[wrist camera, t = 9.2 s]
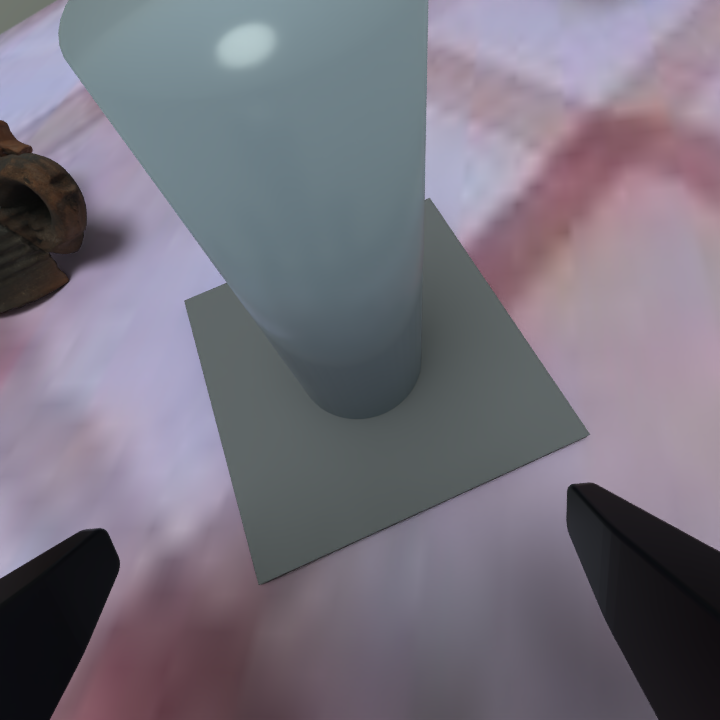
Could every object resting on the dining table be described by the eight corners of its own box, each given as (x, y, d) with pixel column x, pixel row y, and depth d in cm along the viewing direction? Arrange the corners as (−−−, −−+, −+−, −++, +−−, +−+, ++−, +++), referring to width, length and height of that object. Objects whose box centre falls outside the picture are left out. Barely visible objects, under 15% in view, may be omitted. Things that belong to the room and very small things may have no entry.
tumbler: (398, 436, 17) (343, 127, 4) (279, 396, 19) (-19, 75, 6) (436, 322, 19) (474, -119, 6) (326, 294, 20) (178, -113, 8)
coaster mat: (585, 437, 17) (589, 434, 16) (263, 583, 16) (258, 584, 16) (429, 204, 23) (429, 198, 22) (189, 305, 22) (184, 300, 22)
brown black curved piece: (-62, 338, 24) (-222, 199, 19) (57, 262, 31) (-39, 147, 26) (78, 299, 20) (-82, 110, 15) (180, 221, 27) (92, 76, 22)
